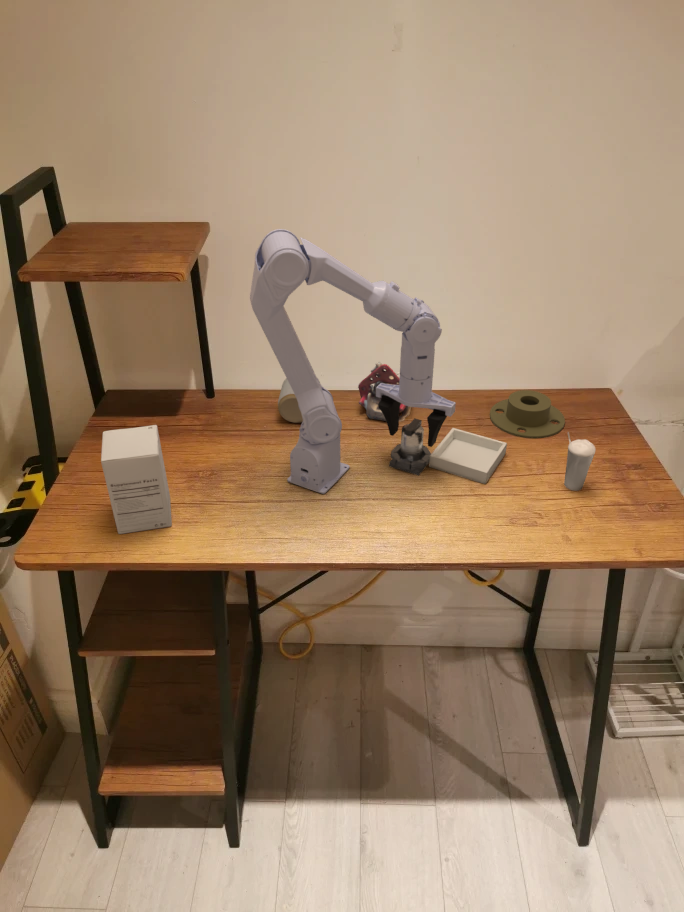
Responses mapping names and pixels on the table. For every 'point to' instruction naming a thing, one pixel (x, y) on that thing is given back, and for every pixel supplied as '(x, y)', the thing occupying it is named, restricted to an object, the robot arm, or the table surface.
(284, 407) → the ceramic mug
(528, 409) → the flange
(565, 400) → the table surface
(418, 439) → the silver cylinder with bar
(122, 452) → the supplement box
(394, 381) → the brake caliper
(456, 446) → the bin
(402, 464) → the stud mount
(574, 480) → the milkshake
